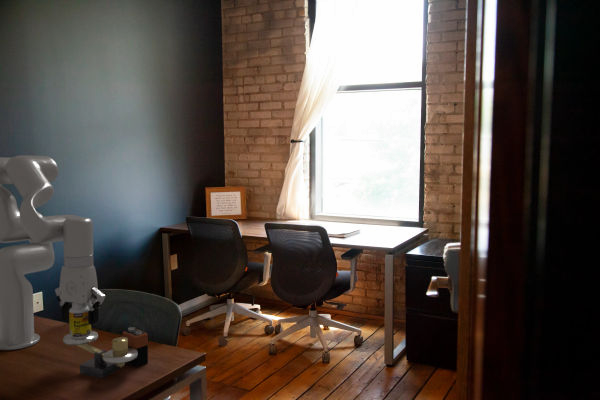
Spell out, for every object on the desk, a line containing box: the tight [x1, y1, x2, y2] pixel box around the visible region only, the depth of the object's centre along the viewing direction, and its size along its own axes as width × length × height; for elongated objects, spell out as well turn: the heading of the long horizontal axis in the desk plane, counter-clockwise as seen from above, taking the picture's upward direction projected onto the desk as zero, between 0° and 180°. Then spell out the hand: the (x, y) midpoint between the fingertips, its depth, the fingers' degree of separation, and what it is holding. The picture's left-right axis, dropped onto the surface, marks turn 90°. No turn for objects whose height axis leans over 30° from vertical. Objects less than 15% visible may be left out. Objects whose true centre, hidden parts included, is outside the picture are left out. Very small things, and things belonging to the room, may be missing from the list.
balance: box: [62, 330, 138, 379], centre depth 134 cm, size 23×9×9 cm, turn 69°
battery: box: [122, 326, 149, 368], centre depth 139 cm, size 4×7×10 cm, turn 52°
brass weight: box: [111, 336, 128, 357], centre depth 131 cm, size 4×4×4 cm
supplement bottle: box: [68, 303, 92, 339], centre depth 135 cm, size 6×6×10 cm
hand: (80, 320), depth 135 cm, fingers open, 9 cm apart
